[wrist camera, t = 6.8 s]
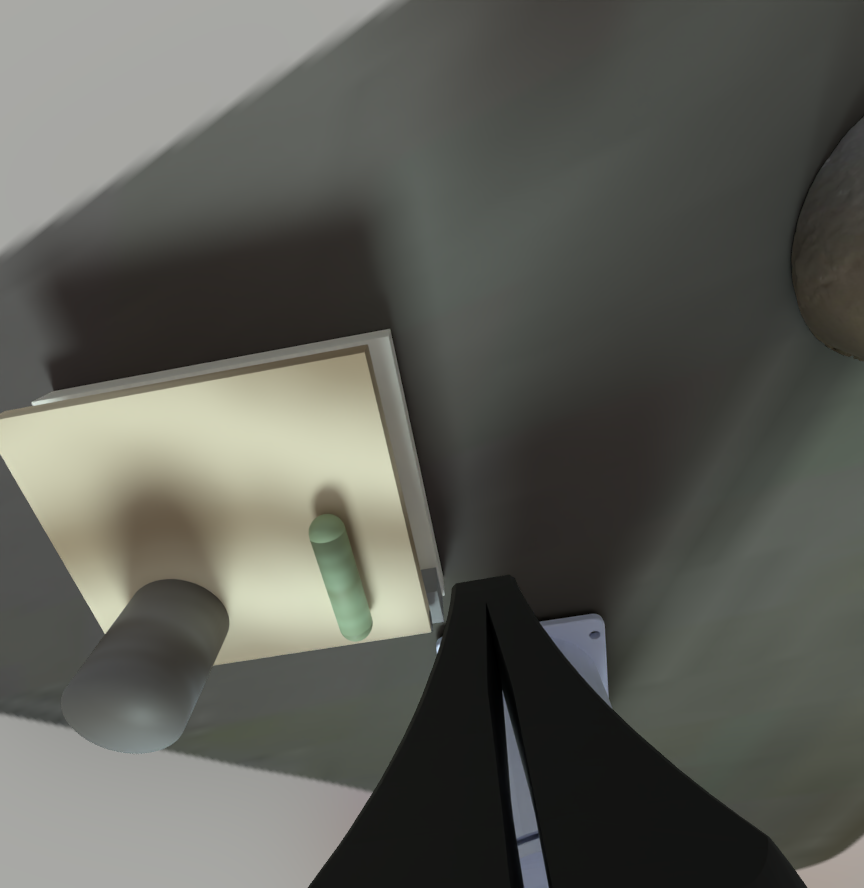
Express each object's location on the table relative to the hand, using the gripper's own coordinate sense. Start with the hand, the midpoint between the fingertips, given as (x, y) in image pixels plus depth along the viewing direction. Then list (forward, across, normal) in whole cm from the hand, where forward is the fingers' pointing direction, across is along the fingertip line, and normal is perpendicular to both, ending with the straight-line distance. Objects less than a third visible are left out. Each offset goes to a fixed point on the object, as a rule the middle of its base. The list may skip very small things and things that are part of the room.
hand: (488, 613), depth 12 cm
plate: (+7, +8, +1) cm, 11 cm away
